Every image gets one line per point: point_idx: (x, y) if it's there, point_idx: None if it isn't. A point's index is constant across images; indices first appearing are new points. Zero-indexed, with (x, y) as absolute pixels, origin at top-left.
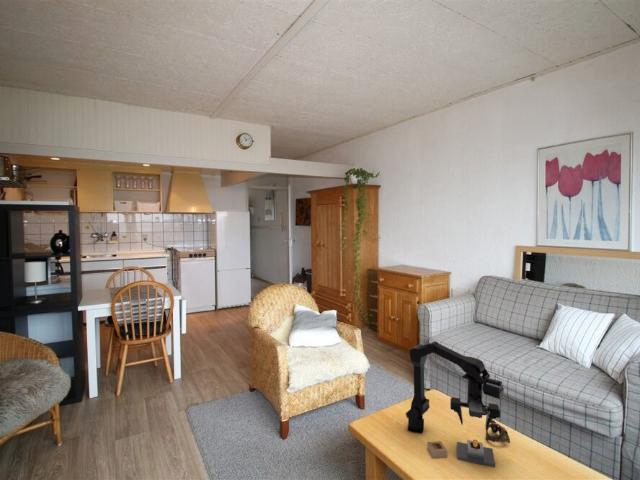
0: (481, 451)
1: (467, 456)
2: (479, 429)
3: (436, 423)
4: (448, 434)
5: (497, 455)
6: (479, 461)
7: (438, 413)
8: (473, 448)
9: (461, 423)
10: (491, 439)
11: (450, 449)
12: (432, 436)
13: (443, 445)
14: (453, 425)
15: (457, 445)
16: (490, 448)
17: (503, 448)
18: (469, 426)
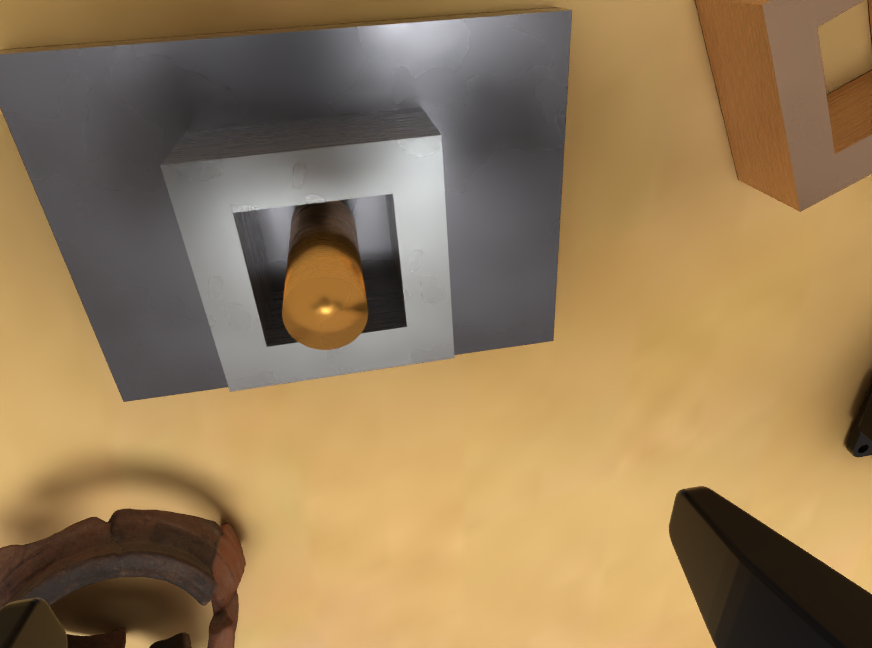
0: (204, 158)
1: (424, 85)
2: (321, 619)
3: None
4: (615, 437)
5: (55, 332)
6: (238, 34)
7: (665, 638)
8: (348, 184)
9: (737, 512)
10: (156, 529)
11: (624, 196)
12: (787, 338)
13: (787, 119)
14: (555, 568)
15: (551, 273)
16: (147, 393)
17: (28, 478)
18: (412, 615)
